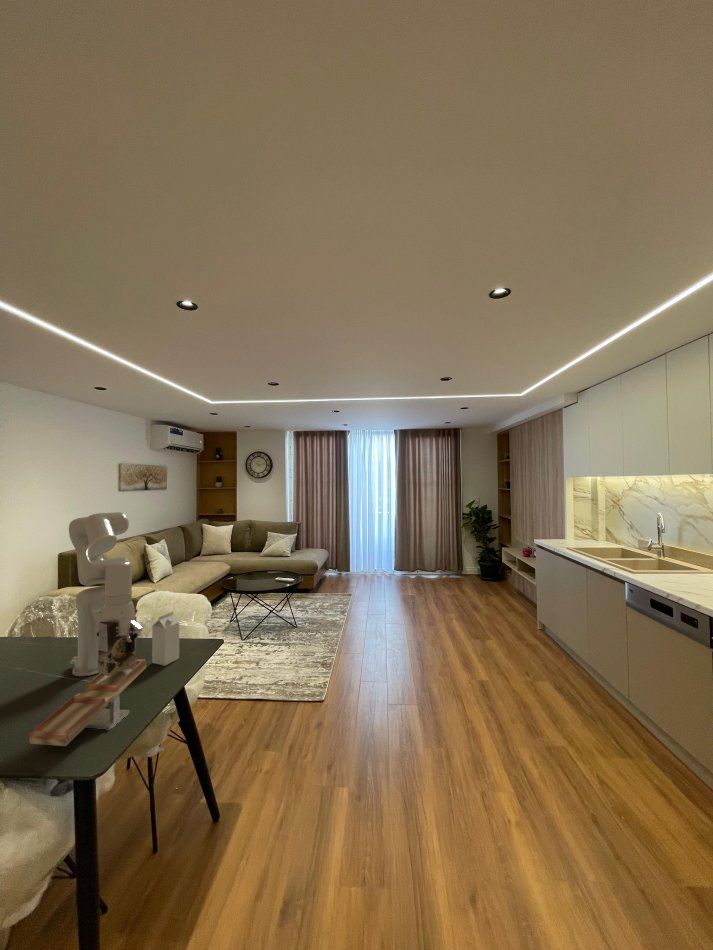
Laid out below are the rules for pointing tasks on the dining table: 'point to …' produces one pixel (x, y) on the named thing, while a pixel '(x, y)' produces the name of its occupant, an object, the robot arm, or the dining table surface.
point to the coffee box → (113, 650)
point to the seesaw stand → (108, 715)
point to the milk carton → (165, 639)
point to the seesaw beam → (83, 707)
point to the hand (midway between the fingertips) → (118, 652)
